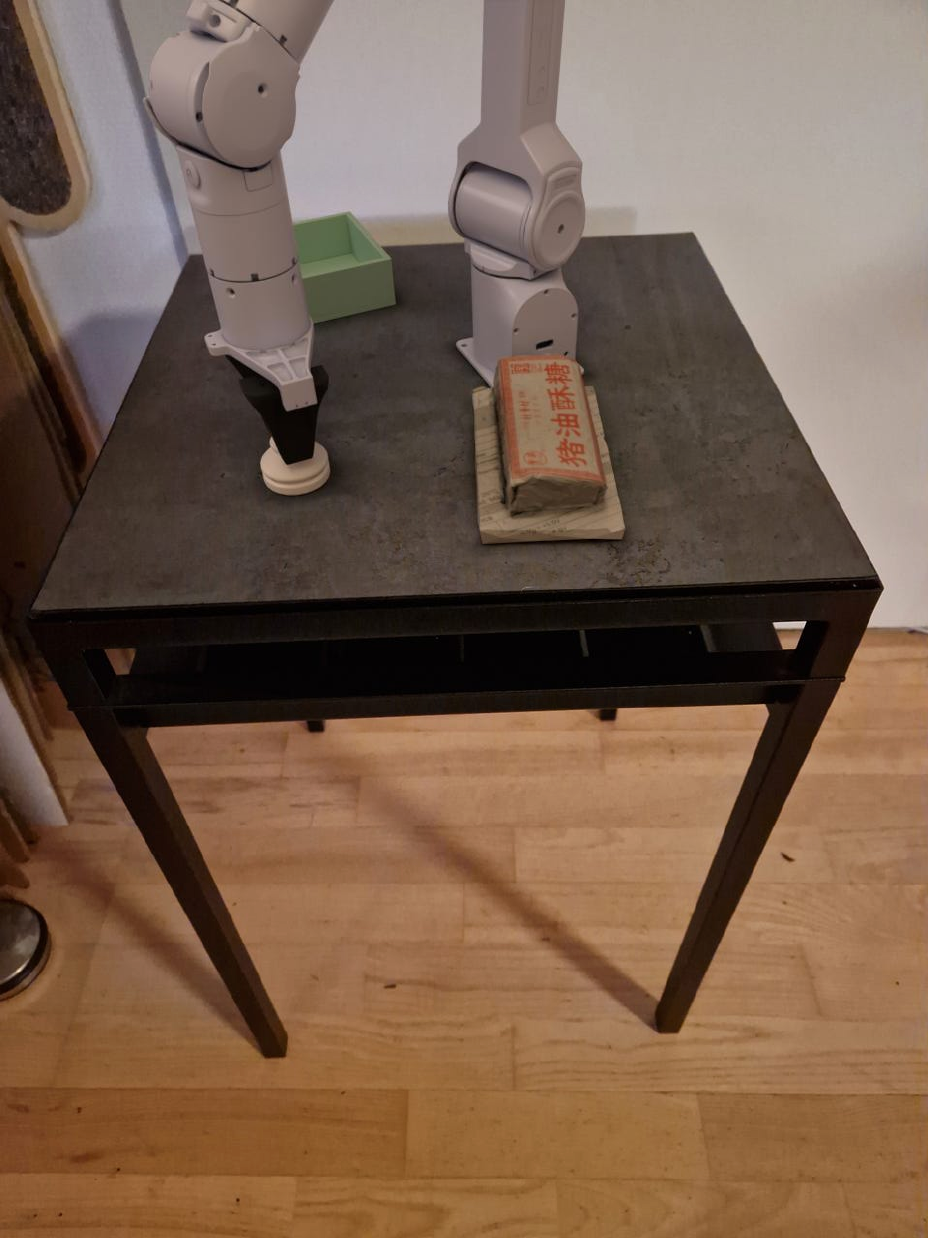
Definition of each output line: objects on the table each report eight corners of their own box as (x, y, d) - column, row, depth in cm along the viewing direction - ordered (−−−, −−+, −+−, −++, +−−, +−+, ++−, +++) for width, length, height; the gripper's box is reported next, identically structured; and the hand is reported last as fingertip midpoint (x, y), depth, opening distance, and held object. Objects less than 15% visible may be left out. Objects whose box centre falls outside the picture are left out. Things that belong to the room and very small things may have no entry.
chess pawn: (254, 493, 66) (227, 386, 59) (276, 453, 69) (252, 348, 63) (320, 499, 65) (299, 391, 59) (338, 458, 69) (320, 352, 62)
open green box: (395, 304, 85) (391, 258, 82) (272, 333, 82) (262, 286, 79) (355, 254, 93) (349, 210, 90) (240, 279, 90) (230, 234, 87)
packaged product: (470, 349, 70) (597, 344, 70) (471, 402, 73) (592, 398, 73) (477, 492, 57) (632, 486, 57) (478, 549, 61) (625, 543, 61)
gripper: (166, 230, 59) (214, 407, 69) (214, 328, 50) (262, 516, 59) (270, 209, 61) (303, 385, 71) (335, 300, 51) (362, 488, 61)
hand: (290, 444), depth 65 cm, fingers open, 3 cm apart
